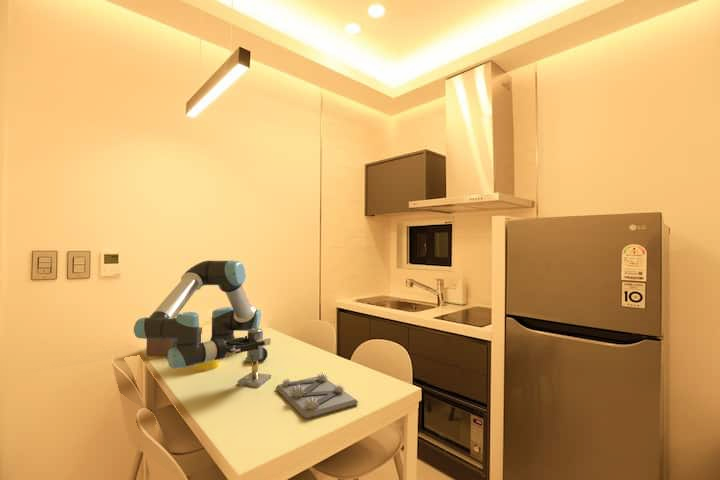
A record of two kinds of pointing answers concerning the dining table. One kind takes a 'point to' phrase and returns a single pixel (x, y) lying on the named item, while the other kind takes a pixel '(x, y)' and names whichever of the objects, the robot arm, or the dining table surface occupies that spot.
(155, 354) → the tissue box cover
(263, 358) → the ceramic mug
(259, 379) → the square metal stand
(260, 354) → the trash can
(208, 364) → the tape roll
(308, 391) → the decorative plate
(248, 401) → the dining table surface
